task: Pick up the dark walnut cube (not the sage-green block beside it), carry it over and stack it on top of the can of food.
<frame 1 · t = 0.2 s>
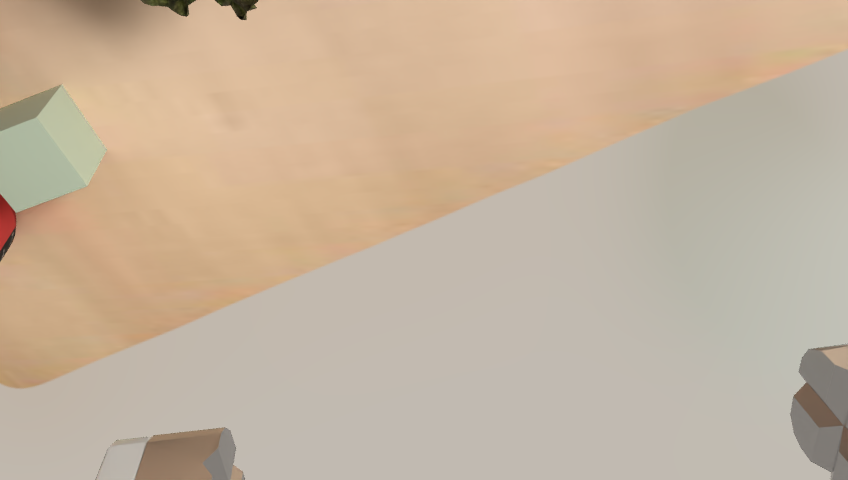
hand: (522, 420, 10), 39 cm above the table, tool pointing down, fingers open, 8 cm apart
sage block: (51, 130, 47), on the table
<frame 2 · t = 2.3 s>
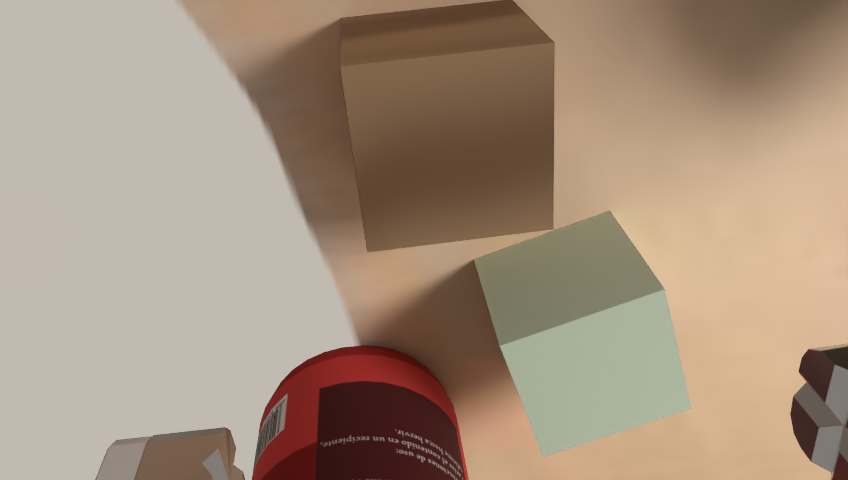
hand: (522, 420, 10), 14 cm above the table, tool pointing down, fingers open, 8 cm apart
sage block: (558, 288, 26), on the table
walnut cube: (433, 90, 22), on the table
canned food: (359, 415, 29), on the table
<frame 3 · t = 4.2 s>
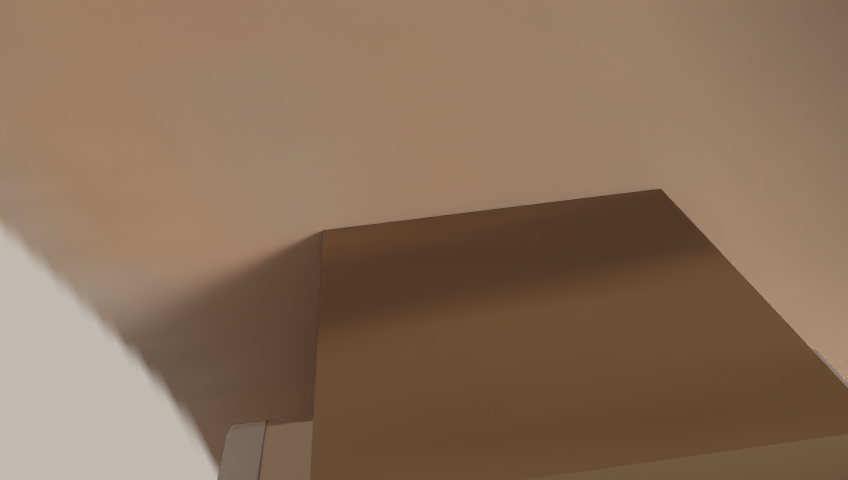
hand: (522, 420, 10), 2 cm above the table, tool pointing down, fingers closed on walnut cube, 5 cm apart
walnut cube: (499, 346, 12), on the table, touching gripper
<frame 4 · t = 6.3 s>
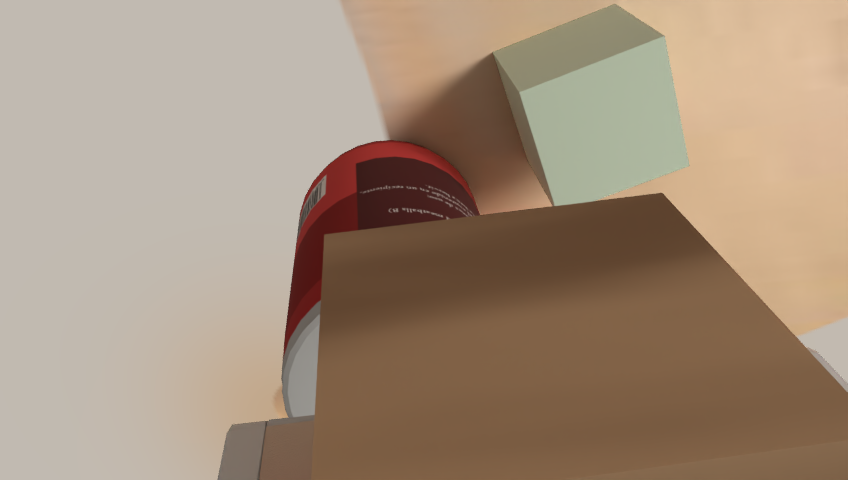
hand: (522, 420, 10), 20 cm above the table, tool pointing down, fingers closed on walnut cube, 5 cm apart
sage block: (568, 85, 29), on the table
walnut cube: (500, 349, 12), point 18 cm above the table, touching gripper
canned food: (387, 217, 31), on the table
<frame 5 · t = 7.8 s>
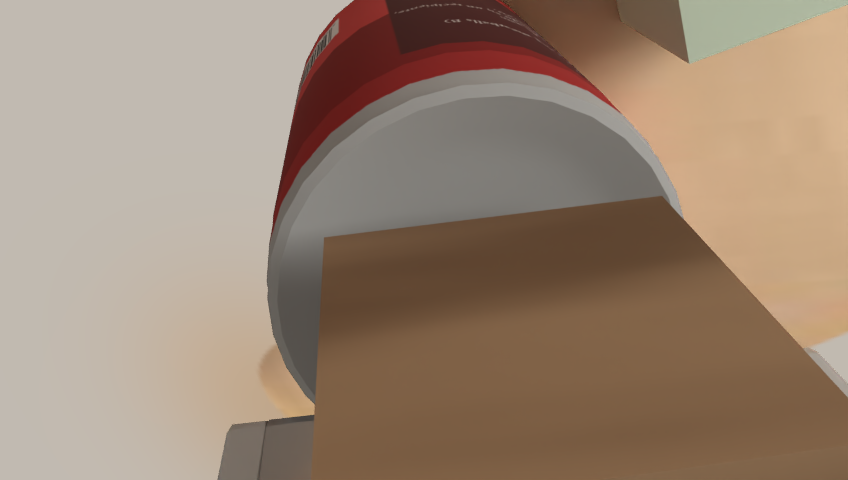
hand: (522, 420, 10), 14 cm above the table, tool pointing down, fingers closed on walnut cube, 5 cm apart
walnut cube: (500, 352, 12), point 12 cm above the table, touching gripper
canned food: (421, 104, 22), on the table
when the fingers open (14 cm above the table, at t = 8.6 s): walnut cube stays where it is, resting on canned food.
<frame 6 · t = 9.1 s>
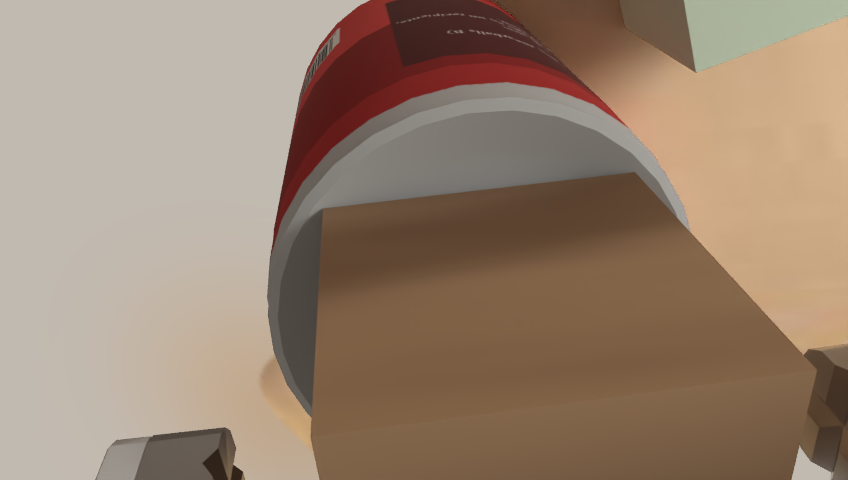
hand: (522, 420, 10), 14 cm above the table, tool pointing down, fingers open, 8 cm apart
walnut cube: (486, 319, 13), point 11 cm above the table, touching canned food
canned food: (423, 112, 22), on the table, touching walnut cube
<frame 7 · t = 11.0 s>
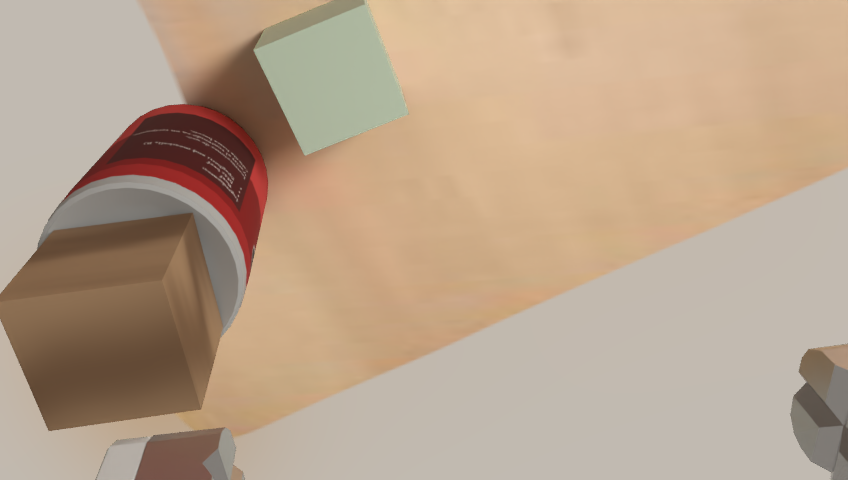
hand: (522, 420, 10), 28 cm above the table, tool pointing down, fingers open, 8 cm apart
sage block: (334, 58, 35), on the table
walnut cube: (142, 280, 27), point 11 cm above the table, touching canned food
canned food: (195, 173, 37), on the table, touching walnut cube
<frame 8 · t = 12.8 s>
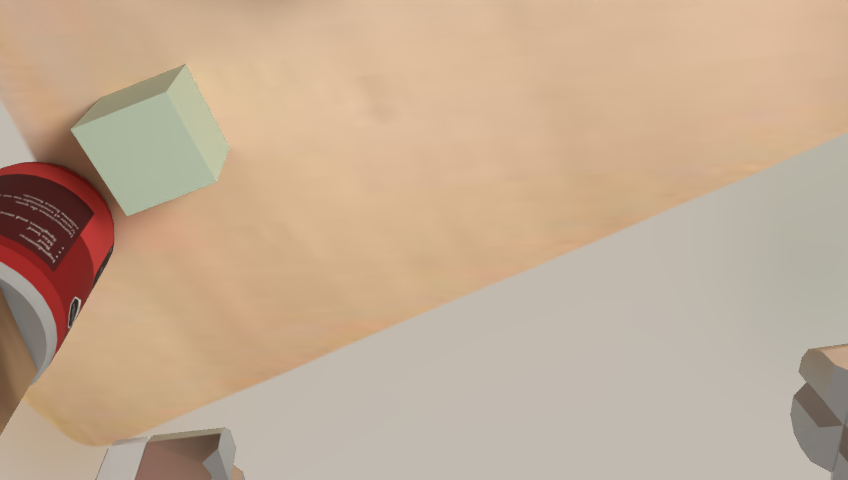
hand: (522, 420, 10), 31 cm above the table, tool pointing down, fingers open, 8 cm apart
sage block: (167, 122, 39), on the table
canned food: (50, 219, 41), on the table, touching walnut cube
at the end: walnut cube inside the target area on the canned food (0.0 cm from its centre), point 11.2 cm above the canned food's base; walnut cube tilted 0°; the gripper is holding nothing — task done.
